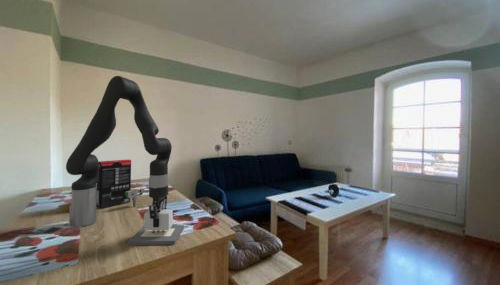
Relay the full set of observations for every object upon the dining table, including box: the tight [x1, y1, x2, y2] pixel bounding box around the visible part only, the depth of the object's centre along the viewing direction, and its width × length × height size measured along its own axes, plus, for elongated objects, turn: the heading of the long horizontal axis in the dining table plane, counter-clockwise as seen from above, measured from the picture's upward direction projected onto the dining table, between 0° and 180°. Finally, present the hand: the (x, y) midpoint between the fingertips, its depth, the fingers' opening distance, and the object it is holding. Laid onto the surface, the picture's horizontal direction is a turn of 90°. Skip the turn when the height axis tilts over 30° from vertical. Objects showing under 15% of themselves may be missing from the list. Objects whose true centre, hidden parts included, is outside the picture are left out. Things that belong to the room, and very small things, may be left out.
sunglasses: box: [57, 202, 72, 213], centre depth 118 cm, size 14×15×5 cm
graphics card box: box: [96, 159, 132, 209], centre depth 124 cm, size 17×7×27 cm, turn 144°
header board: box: [127, 224, 185, 246], centre depth 87 cm, size 18×14×2 cm
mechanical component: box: [125, 188, 145, 208], centre depth 121 cm, size 3×10×10 cm, turn 148°
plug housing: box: [143, 208, 174, 230], centre depth 87 cm, size 10×5×7 cm, turn 93°
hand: (158, 223), depth 87 cm, fingers closed on plug housing, 5 cm apart
